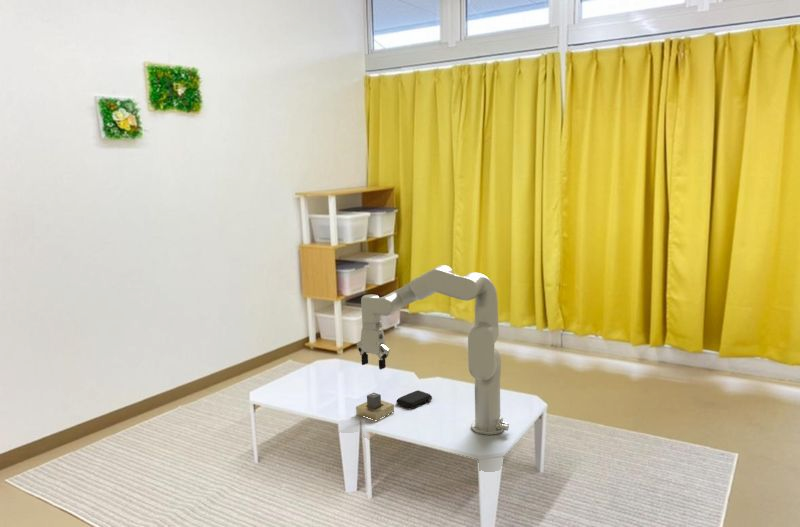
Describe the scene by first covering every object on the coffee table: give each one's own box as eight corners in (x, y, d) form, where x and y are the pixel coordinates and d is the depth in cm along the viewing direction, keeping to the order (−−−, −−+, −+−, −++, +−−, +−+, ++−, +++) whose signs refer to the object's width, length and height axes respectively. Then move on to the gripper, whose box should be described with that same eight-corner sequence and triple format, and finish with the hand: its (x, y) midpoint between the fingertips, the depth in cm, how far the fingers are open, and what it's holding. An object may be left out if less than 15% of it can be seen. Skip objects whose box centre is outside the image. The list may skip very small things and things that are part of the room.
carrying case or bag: (412, 411, 230) (435, 401, 240) (412, 404, 230) (435, 394, 240) (394, 405, 238) (418, 395, 248) (394, 398, 237) (417, 388, 247)
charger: (381, 413, 228) (380, 394, 227) (374, 416, 225) (373, 397, 224) (374, 410, 231) (373, 391, 230) (367, 414, 228) (366, 394, 227)
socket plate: (394, 412, 229) (393, 404, 229) (375, 421, 221) (375, 413, 220) (374, 406, 236) (374, 398, 236) (356, 414, 228) (356, 406, 227)
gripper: (394, 326, 220) (395, 367, 223) (362, 320, 232) (364, 360, 234) (381, 330, 215) (383, 373, 217) (350, 324, 226) (352, 364, 228)
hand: (373, 366), depth 226 cm, fingers open, 9 cm apart
